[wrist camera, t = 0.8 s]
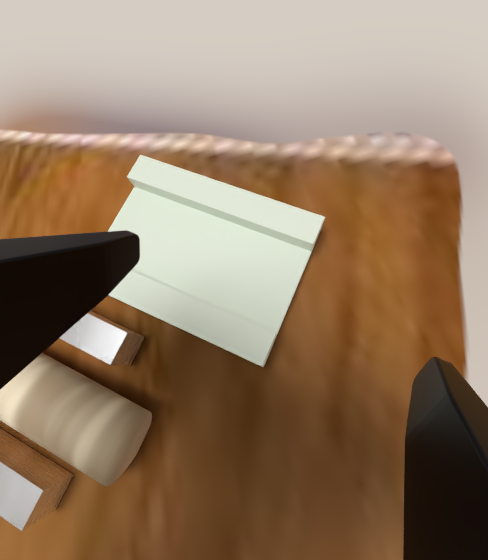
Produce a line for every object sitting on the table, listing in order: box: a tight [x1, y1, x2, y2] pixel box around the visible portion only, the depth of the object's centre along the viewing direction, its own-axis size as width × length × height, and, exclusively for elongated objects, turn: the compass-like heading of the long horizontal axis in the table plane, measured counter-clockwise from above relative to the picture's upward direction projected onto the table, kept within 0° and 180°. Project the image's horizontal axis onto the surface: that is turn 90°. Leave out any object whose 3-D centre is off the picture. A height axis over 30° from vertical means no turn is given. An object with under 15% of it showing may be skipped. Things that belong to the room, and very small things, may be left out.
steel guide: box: [0, 311, 145, 531], centre depth 19 cm, size 11×10×2 cm
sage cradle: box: [108, 155, 325, 367], centre depth 21 cm, size 10×14×2 cm
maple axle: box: [0, 353, 152, 487], centre depth 18 cm, size 12×4×4 cm, turn 66°
